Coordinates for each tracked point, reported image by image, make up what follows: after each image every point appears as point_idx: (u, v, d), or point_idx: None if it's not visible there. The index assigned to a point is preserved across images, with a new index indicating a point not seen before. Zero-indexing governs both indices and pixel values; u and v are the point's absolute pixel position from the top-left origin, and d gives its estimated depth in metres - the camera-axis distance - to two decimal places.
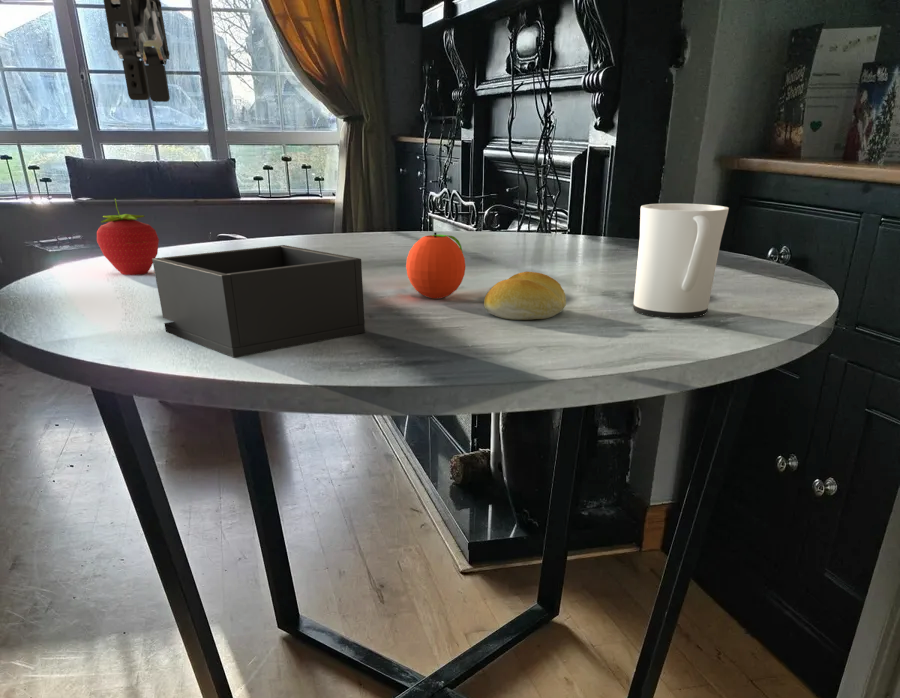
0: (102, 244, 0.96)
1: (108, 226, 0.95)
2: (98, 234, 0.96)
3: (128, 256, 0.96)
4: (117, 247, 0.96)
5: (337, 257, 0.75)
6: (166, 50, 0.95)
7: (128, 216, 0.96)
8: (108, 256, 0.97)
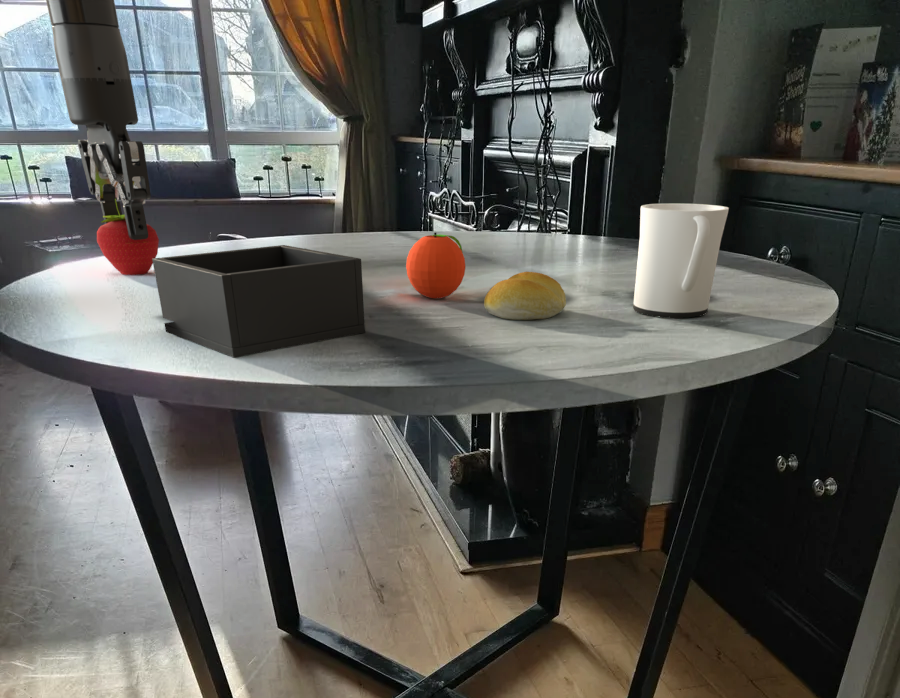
0: (103, 244, 0.96)
1: (108, 226, 0.95)
2: (98, 234, 0.96)
3: (128, 256, 0.96)
4: (117, 247, 0.96)
5: (337, 257, 0.75)
6: None
7: None
8: (108, 256, 0.97)
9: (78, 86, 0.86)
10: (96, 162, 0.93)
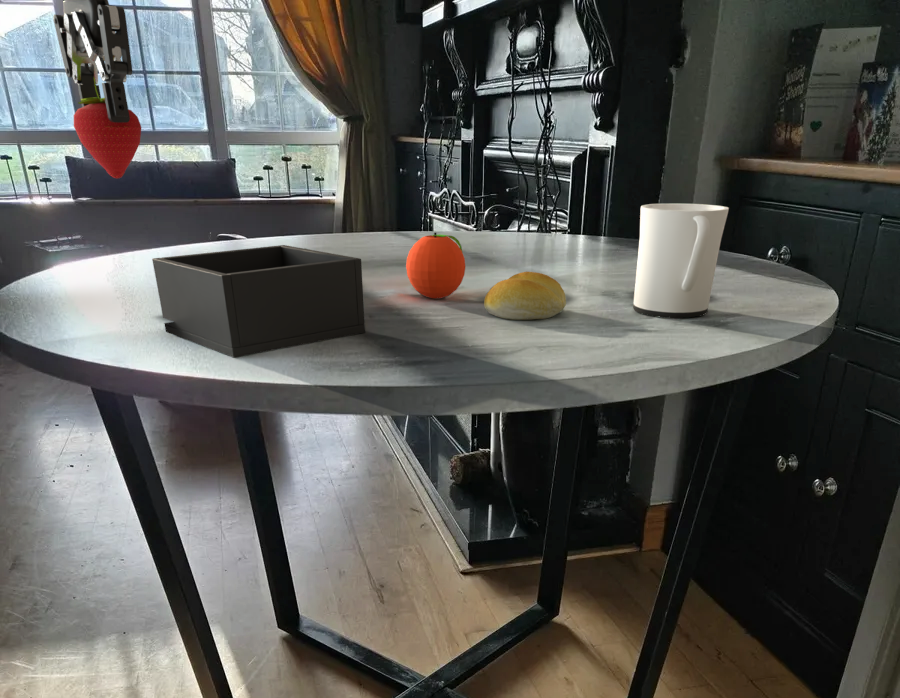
0: (80, 128, 0.88)
1: (86, 107, 0.88)
2: (75, 117, 0.88)
3: (107, 142, 0.89)
4: (95, 131, 0.88)
5: (337, 257, 0.75)
6: (88, 69, 0.91)
7: None
8: (86, 142, 0.89)
9: None
10: (73, 35, 0.86)
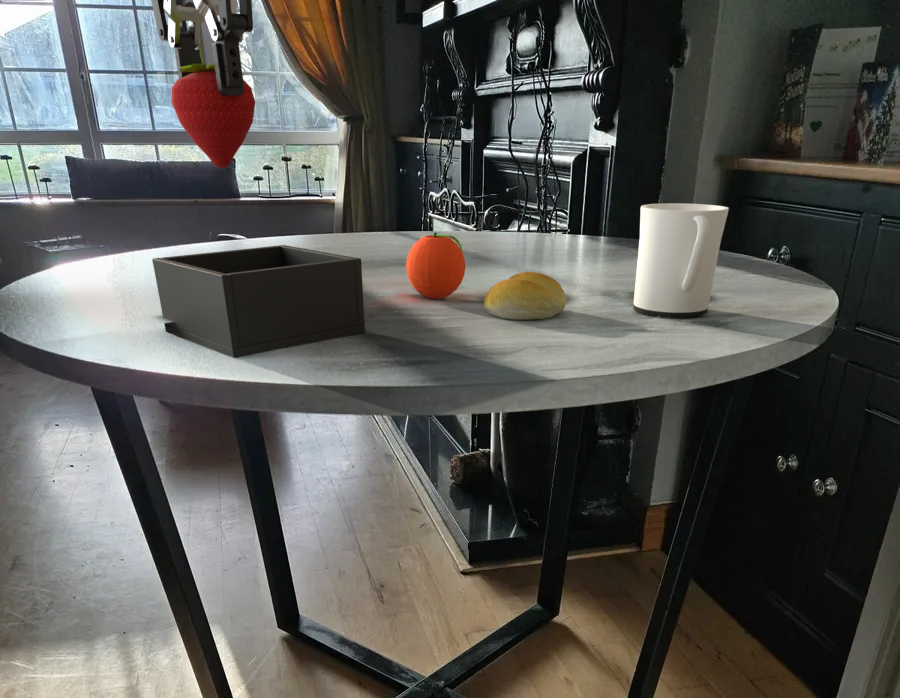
0: (181, 104, 0.69)
1: (189, 77, 0.69)
2: (174, 90, 0.69)
3: (215, 121, 0.70)
4: (201, 107, 0.69)
5: (337, 257, 0.75)
6: (185, 29, 0.72)
7: None
8: (188, 122, 0.70)
9: None
10: None
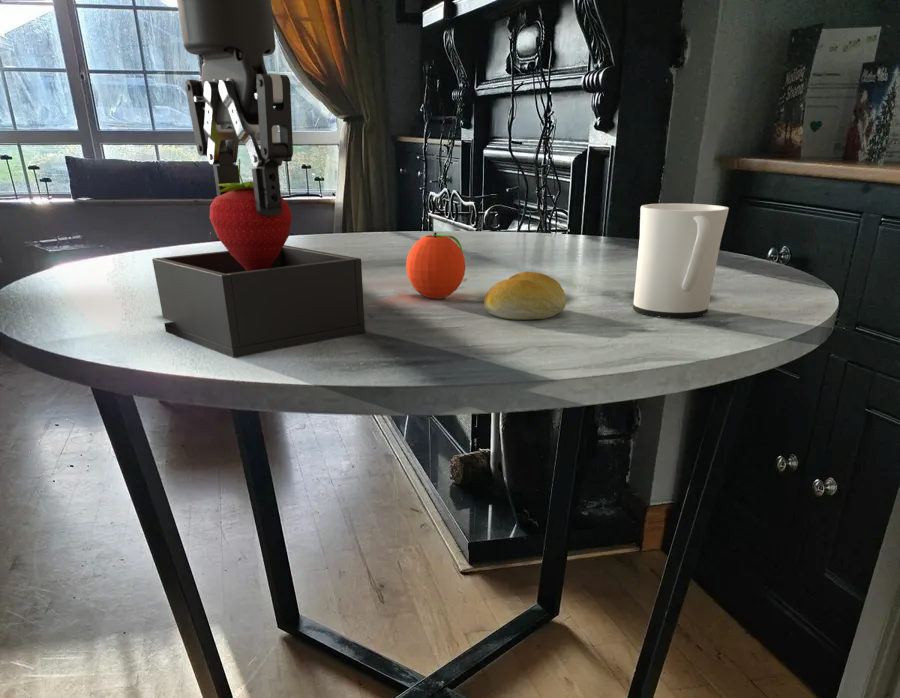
0: (220, 222, 0.70)
1: (228, 196, 0.69)
2: (213, 209, 0.70)
3: (253, 238, 0.71)
4: (239, 226, 0.70)
5: (337, 257, 0.75)
6: None
7: None
8: (226, 239, 0.71)
9: None
10: (214, 108, 0.67)
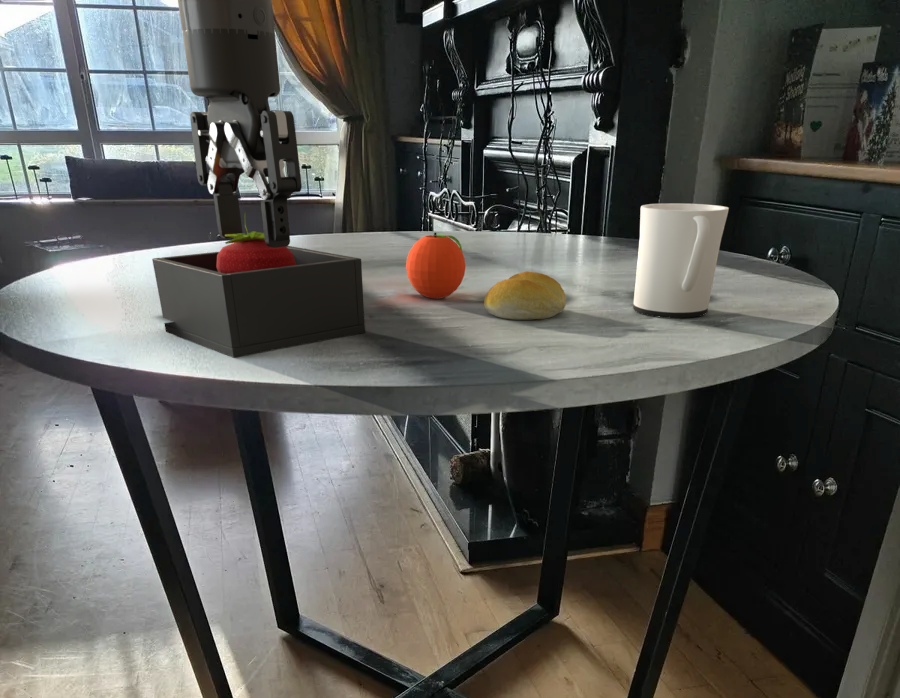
0: (226, 272, 0.72)
1: (234, 248, 0.72)
2: (220, 259, 0.72)
3: None
4: None
5: (337, 257, 0.75)
6: (224, 174, 0.75)
7: (260, 235, 0.72)
8: None
9: (210, 40, 0.62)
10: (220, 148, 0.69)
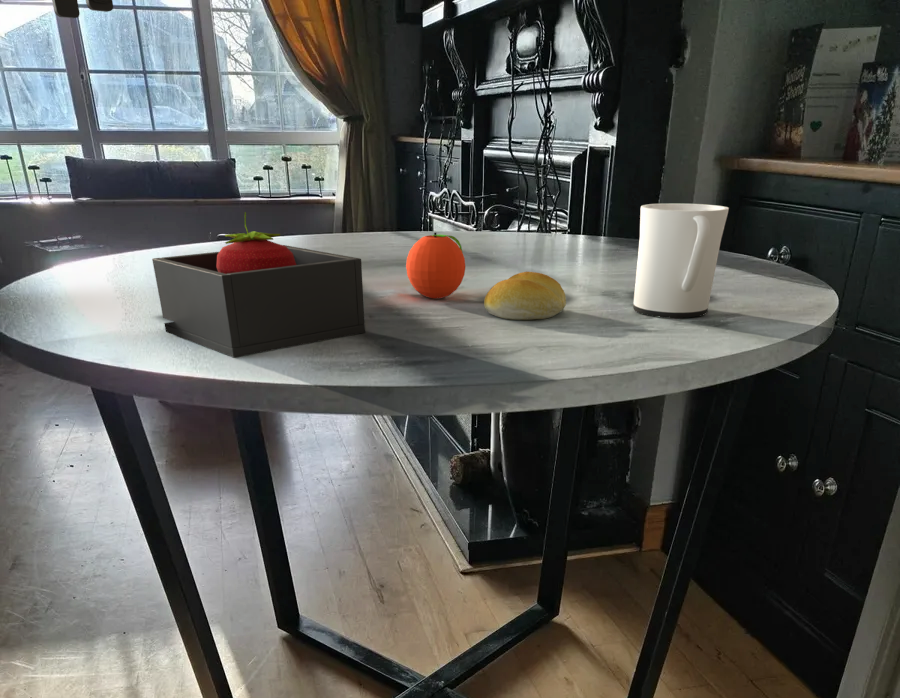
0: (226, 272, 0.72)
1: (234, 248, 0.72)
2: (220, 259, 0.72)
3: None
4: None
5: (337, 257, 0.75)
6: None
7: (260, 235, 0.72)
8: None
9: None
10: None
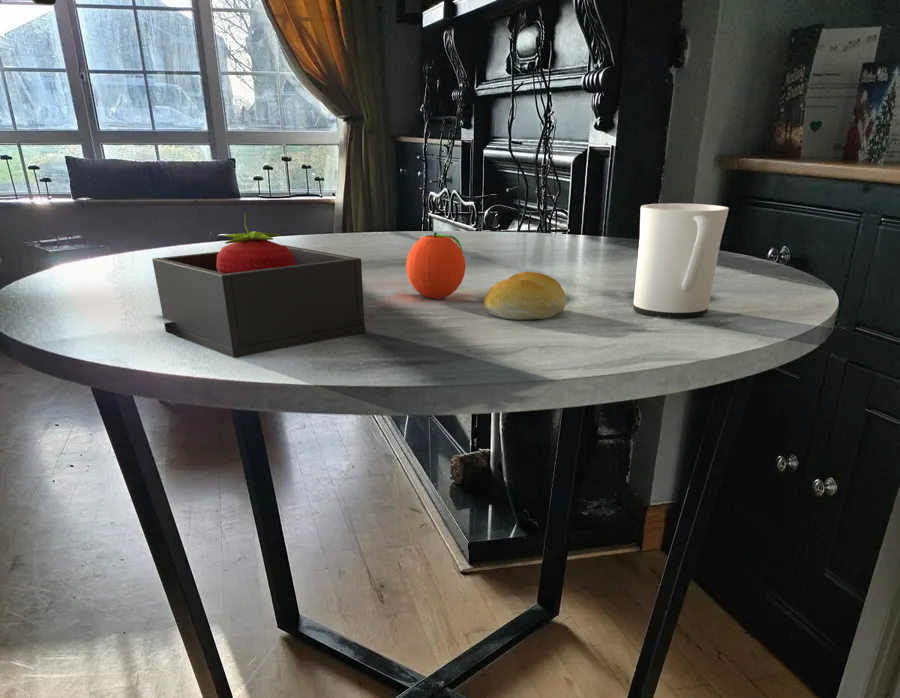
0: (226, 272, 0.72)
1: (234, 248, 0.72)
2: (220, 259, 0.72)
3: None
4: None
5: (337, 257, 0.75)
6: None
7: (260, 235, 0.72)
8: None
9: None
10: None
